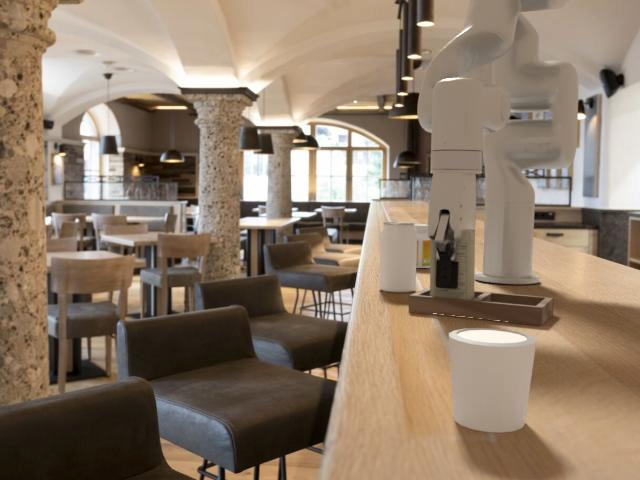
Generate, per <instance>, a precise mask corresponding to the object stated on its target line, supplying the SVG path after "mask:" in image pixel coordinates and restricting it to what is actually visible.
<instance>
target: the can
mask: <svg viewBox="0 0 640 480" xmlns="http://www.w3.org/2000/svg"><path fill="white" fill-rule="evenodd" d="M415 224H416V223H415V222H404V221H403V222H402V221H388V222H387V221H384V222H383V225H382V228H381V229H380V238H379V239H380V241H379V268H378V269H379V273H378V275H379V277H378V280H379V281H378V285H379V286H378V287H379V289H380V291H381V292H385V293H391V294H409V293H414V291H415V290H416V286H417V285H416V283H417V269H416V260H417V231H416V228H415Z"/></svg>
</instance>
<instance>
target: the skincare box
mask: <svg viewBox="0 0 640 480" xmlns="http://www.w3.org/2000/svg"><path fill="white" fill-rule="evenodd" d="M475 232H476V229H475V230H467V231H465V234H464V239H462V240H460V241H458V250H457V259H456V261H457V262H459V268H458V287H457V288H456V289H448V288H438V287H436V254H437V249H436V247H437V245H436V243H435V240H431V239H430V268H429V287H430V296H434V297H445V298H455V299H466V300H472V299H474V291H475V278H474V274H475V273H476V272H475V270H476V269H475V265H476V263H475V261H476V260H475V258H476V257H475V255H476V254H475V253H476V252H475V251H476V249H475V248H476V247H475V246H476V242H475V241H476V240H475V239H476V233H475ZM436 233H437V231H436ZM432 237H433V238H435V237H436V236H432ZM447 239H453V240H454V237H453V236H447ZM450 246H451V250H452V245H450Z"/></svg>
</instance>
